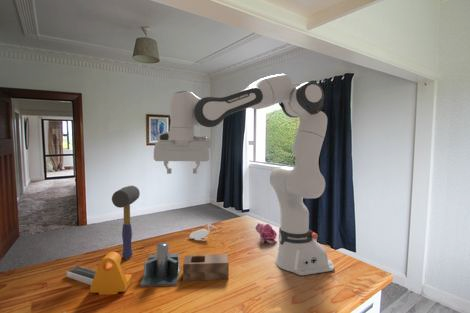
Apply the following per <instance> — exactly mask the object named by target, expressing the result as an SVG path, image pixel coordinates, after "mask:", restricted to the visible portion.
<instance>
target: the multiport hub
mask: <svg viewBox="0 0 470 313" xmlns="http://www.w3.org/2000/svg"><path fill="white" fill-rule="evenodd" d="M96 271H97V270H93V269H90V268H86V267H83V266H79V265H77V266H75V267H73V268H71V269H69V270H66V278H67V277H68V278H69V279H72V280H75V281H78V282H81V283H84V284H86V285H90V286H91V284H92V281H93V279H94V276H95V274H96Z"/></svg>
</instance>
